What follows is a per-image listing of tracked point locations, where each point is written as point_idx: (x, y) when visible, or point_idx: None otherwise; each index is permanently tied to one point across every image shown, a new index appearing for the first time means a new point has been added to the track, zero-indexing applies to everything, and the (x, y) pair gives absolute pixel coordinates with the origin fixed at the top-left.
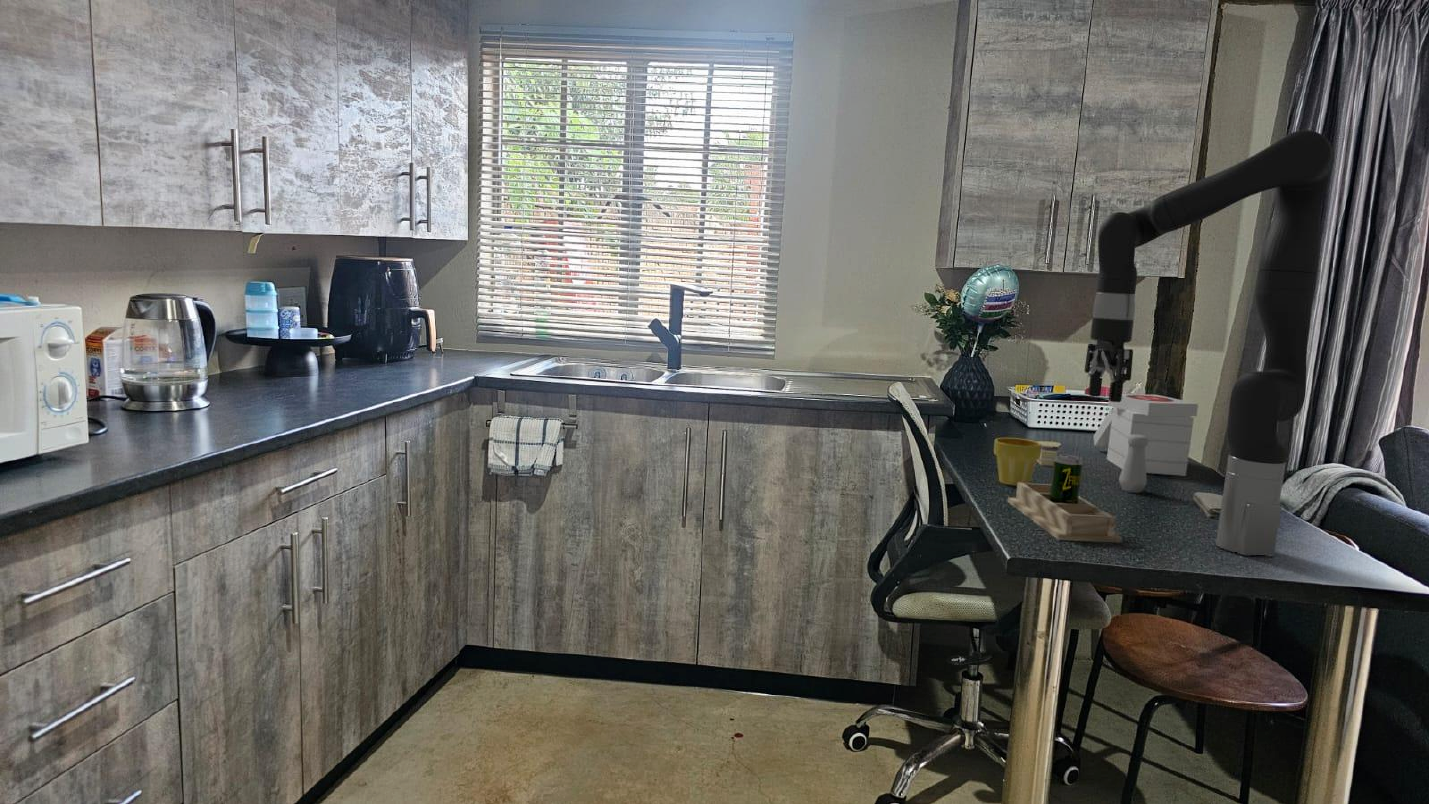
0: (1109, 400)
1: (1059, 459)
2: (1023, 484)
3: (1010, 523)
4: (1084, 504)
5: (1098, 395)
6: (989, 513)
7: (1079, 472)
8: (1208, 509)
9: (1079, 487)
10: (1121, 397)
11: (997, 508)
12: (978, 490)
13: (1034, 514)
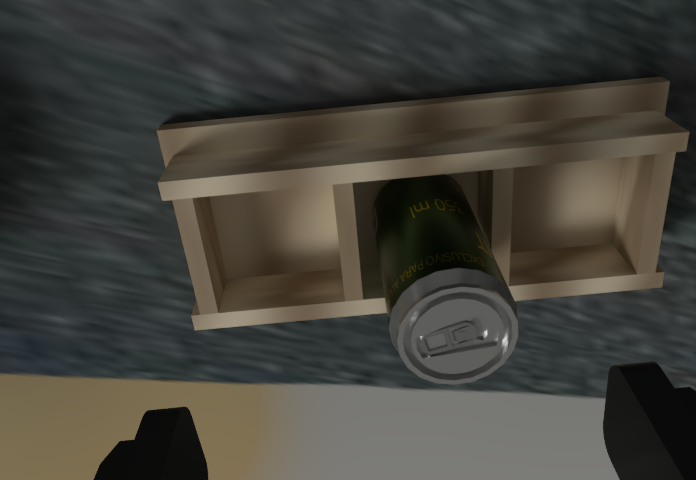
0: (610, 442)
1: (478, 371)
2: (228, 319)
3: None
4: (498, 185)
5: (187, 418)
6: (371, 380)
7: (498, 268)
8: None
9: (468, 222)
10: (672, 387)
11: (303, 349)
12: (71, 359)
13: None
